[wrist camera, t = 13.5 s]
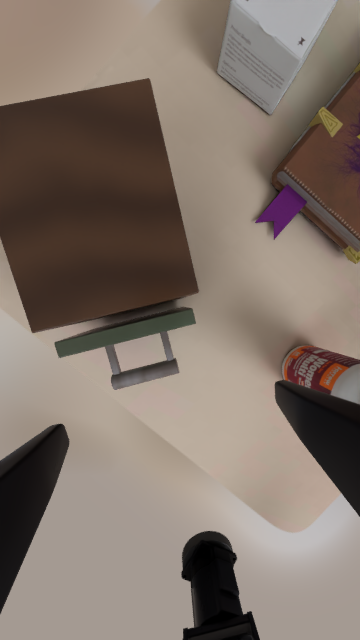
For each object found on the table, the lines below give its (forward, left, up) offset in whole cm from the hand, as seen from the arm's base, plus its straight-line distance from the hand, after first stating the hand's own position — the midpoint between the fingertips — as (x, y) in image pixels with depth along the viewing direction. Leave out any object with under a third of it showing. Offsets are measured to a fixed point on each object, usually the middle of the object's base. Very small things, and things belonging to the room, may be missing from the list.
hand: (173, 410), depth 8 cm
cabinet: (+7, +10, -15) cm, 19 cm away
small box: (+32, +6, -15) cm, 36 cm away
